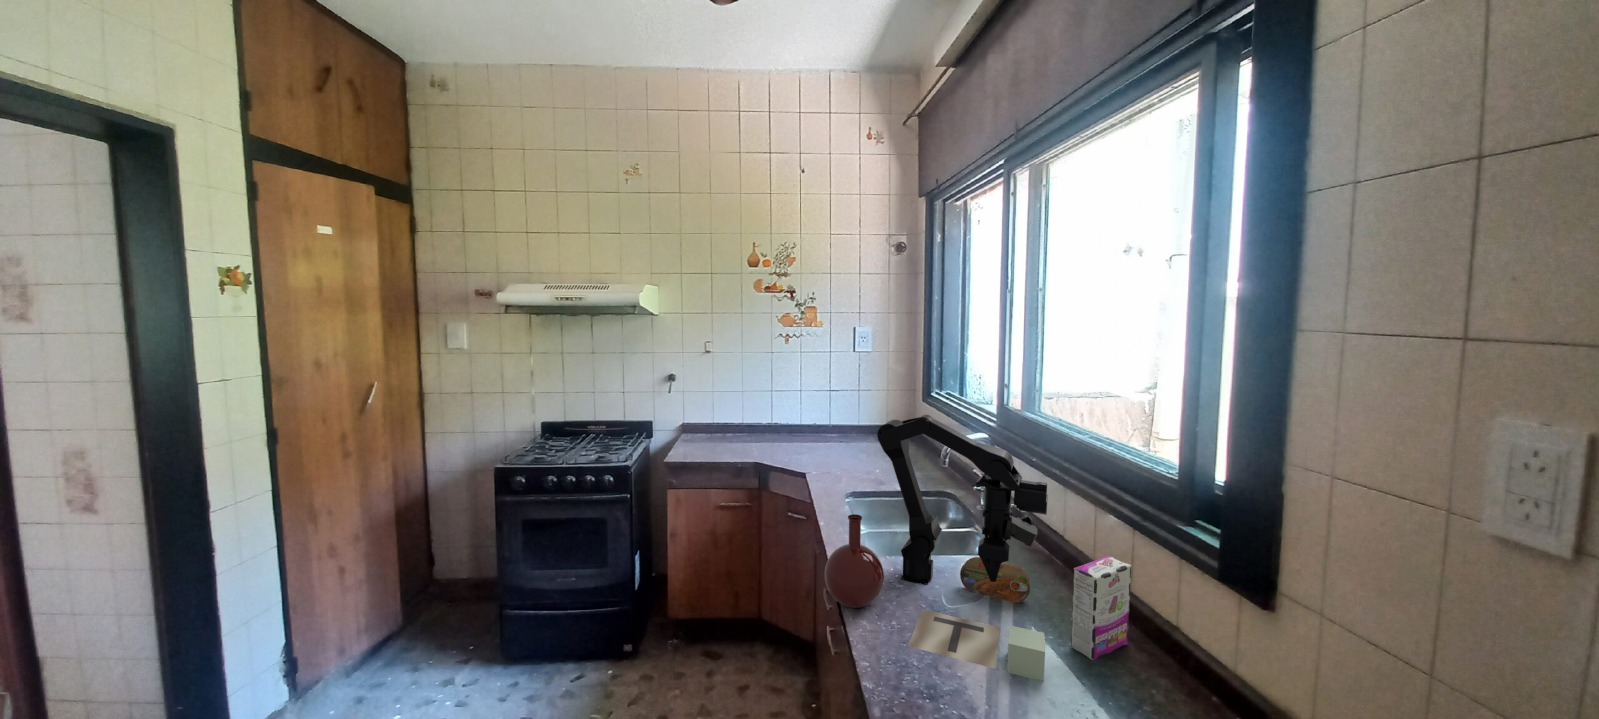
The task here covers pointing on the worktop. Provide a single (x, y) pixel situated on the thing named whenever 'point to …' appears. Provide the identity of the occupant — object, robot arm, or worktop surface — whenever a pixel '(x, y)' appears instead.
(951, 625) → the board
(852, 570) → the round-bottom flask
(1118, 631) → the candy bar box
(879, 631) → the worktop surface
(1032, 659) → the green block
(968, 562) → the tin
